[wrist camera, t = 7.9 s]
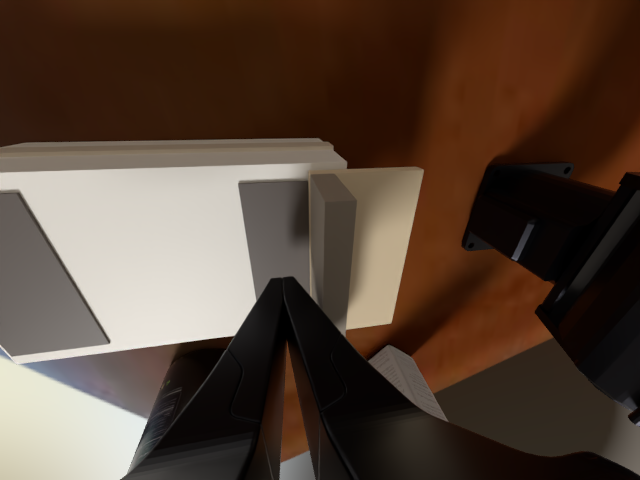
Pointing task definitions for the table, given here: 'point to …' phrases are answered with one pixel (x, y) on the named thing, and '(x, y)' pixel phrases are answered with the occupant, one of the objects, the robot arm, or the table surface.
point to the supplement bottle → (175, 396)
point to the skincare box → (406, 379)
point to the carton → (147, 239)
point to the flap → (360, 241)
